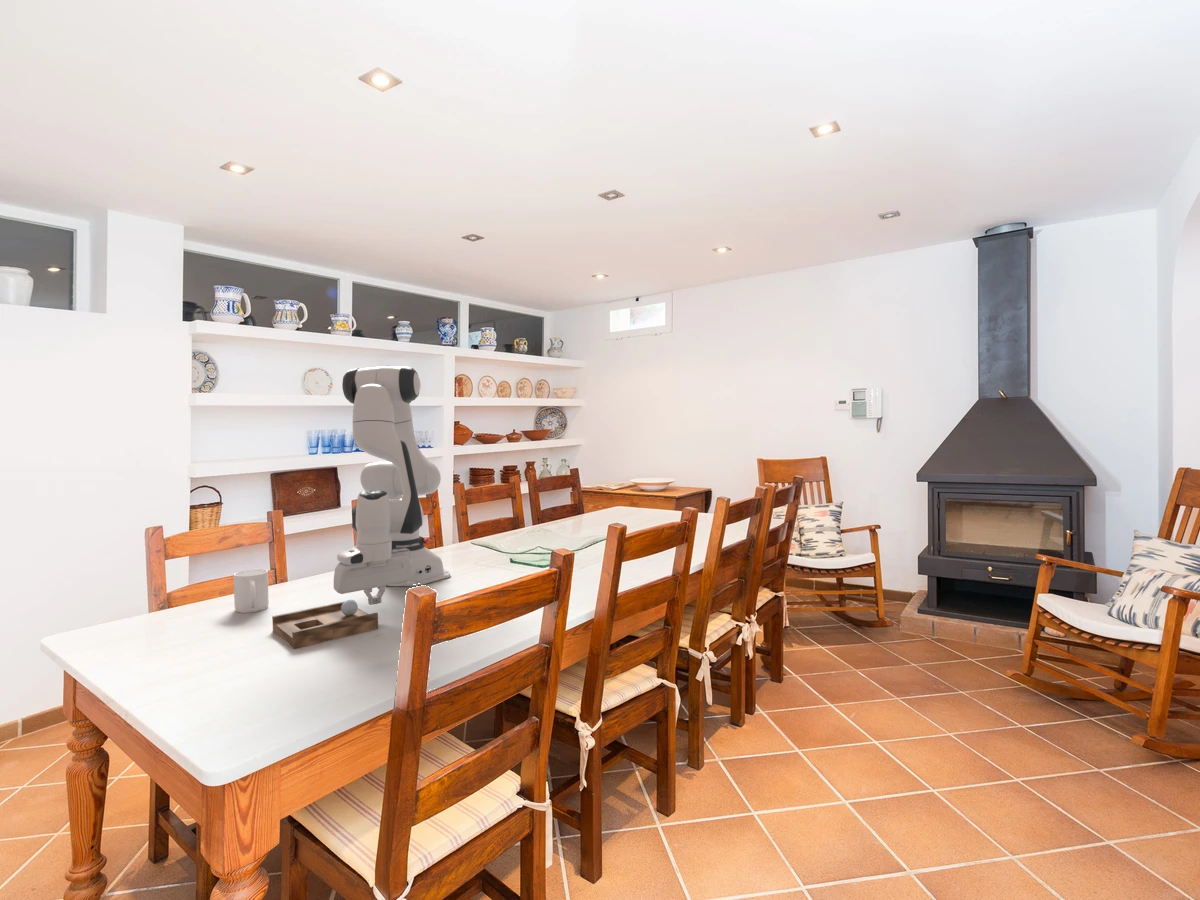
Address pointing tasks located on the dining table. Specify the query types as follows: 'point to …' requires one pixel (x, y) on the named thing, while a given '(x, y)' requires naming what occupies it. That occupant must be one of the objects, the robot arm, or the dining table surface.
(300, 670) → the dining table surface
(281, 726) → the dining table surface
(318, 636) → the wooden tray
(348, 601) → the ball
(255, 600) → the mug
